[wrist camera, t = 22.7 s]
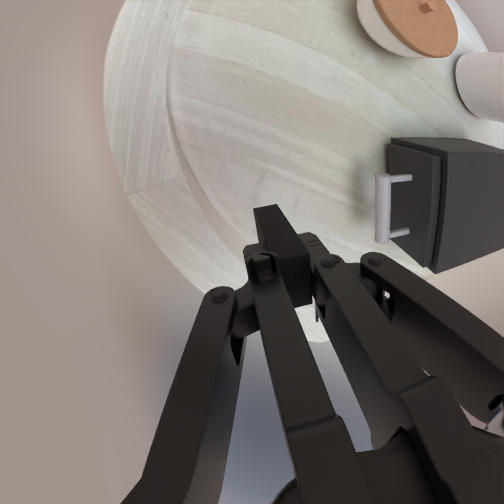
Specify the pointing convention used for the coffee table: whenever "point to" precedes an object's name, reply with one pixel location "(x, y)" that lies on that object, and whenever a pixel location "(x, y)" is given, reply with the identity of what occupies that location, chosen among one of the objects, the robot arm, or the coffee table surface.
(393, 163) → the pull-out drawer
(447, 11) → the trinket box
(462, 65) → the cup
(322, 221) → the coffee table surface
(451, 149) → the dark drawer box
